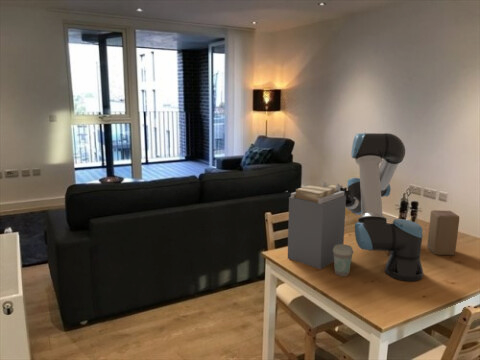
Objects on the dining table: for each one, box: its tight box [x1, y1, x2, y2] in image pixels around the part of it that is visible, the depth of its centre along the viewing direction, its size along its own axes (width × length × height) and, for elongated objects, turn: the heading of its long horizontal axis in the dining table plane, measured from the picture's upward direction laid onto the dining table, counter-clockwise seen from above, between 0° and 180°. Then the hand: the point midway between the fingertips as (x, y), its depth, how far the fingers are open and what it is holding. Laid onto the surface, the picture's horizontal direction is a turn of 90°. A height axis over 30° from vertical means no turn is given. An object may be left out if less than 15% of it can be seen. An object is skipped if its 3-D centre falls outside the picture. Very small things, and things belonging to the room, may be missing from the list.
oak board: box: [295, 183, 343, 202], centre depth 179 cm, size 28×12×4 cm, turn 136°
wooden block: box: [426, 209, 460, 256], centre depth 186 cm, size 10×10×20 cm
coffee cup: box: [333, 243, 354, 277], centre depth 164 cm, size 9×8×12 cm
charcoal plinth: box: [287, 191, 347, 270], centre depth 179 cm, size 20×18×32 cm
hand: (329, 185), depth 182 cm, fingers open, 7 cm apart
